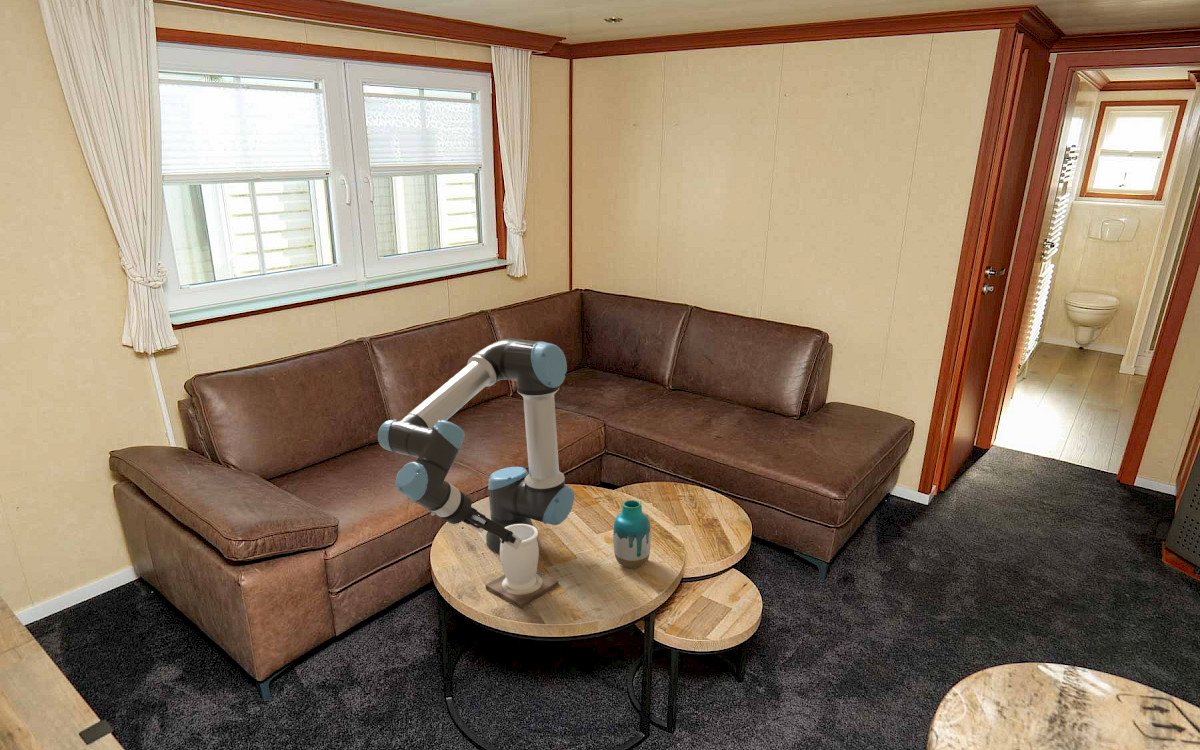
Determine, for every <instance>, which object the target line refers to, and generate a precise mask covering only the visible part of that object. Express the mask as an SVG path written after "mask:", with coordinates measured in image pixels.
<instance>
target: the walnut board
mask: <svg viewBox="0 0 1200 750" xmlns="http://www.w3.org/2000/svg"><path fill="white" fill-rule="evenodd" d="M535 577H536V583H535V584H534V585H533V586H532V587H530V588H528V589H525V590H513V589H511V588H509V587H507V585H506V583H505V581H506V576H505V574H504V573H503V574H502V575H501V576H499V577H498V578H496V579H494V580H492V581H490V582H489V583H487V584H485V590H487V591H489V592H490V593H492V594H495V595H496V596H497V597H500V598H502V599H504V600H505V601H507V602H509V603H511V604H513V606H516V607H518V608H519V609H523V608H524V607H526V606H528V605H529V604H531V603H532V602H534V601H536V600H537V599H539V598H540V597H542V596H543V595H545V594H547V593H549V592H550V591H551V590H553V589H555V588H556V587H558V586H559V585H560V584H559V580H557V579H555V578H553V577H552V576H549V575H548V574H545V573H544V572H541V571H539V570H537V571H536V574H535Z"/></svg>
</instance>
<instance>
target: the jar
mask: <svg viewBox="0 0 1200 750" xmlns="http://www.w3.org/2000/svg"><path fill="white" fill-rule="evenodd" d="M505 529H507V530H509V531H512V532H513V534H514V535H515V536H517V537H519V538H520V539H522V542H521V544H520V546H519V547H518V549H515V548H513V547H511V546H510V545H508V544H507V543H505V542H504V543H501V544H500V552H499V557H500V562H501V567H502V571H503V575H504V574H505V576H506V581H505V583H506V585H507V587H509V588H511V589H513V590H525V589H528V588H530V587H532V586H533V585H534V584H535V583H536V577H535V574H536V571H538V564H539V563H538V562H539V558H540V555H539V554H540V550H539V549H540V548H539V544H538V542H539V541H538V540H537V538H538V536H539V533H538V529H537V527H535V526H534V525H533V526H531V525H528V524H513V525H509V526H507V527H505ZM501 541H502V540H501Z"/></svg>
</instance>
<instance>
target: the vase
mask: <svg viewBox="0 0 1200 750" xmlns="http://www.w3.org/2000/svg"><path fill="white" fill-rule="evenodd" d="M651 530H652V529H651V522H650V518H649V517H648V515H647V514H646V513H644V512H643V508H642V502H641V501H639V500H636V499H627V500H624V501H623V502H622V506H621V512H620V513H618V514H617V515H616V517H615V518H614V524H613V530H612V532H613V537H612V539H613V551H614V552H613V553H614V557H615V560H616V562H617V563H618V564H619V565H620V566H621V567H624V568H627V569H639V568H641V567H643V566H644V565H646V563H647V562H648V560H649V557H650V554H651V547H652V546H651V543H652V541H651V540H652V539H651V538H652V537H651V536H652V534H651V533H652V532H651Z"/></svg>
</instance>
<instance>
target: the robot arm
mask: <svg viewBox="0 0 1200 750" xmlns="http://www.w3.org/2000/svg"><path fill="white" fill-rule="evenodd" d="M567 363H568V362H567V358H566V355H565V354H564V351H563V350H562V349H561V348H560V347H559V346H558V345H557V344H554V343H550V342H547V341H544V340H543V341H539V340H529V339H522V338H521V339H520V338H514V337H511V338H510V337H509V338H503V339H499V340H498V341H494V342H493V343H491V344H488V345H487V346H485V347H483V348H481V349H480V350H478V351H477V352H476V353H475V354H473V355H472V356H471V357H470V358H468V360H467V364H466V365H465V366H464V367H463V368H462V369H461V370H459V371H458V372H457V373H456V374H455V375H453V377H451V378H449V380H447V381H446V382H445V383H444V384H442V385H441V386H440V387H438V389H437V390H435V391H434V392H433V393H432V394H430V395H429V396H428V397H427V398H426V399H424V400H423V401H422V402H420V403H419V404H418V405H417V406H416V407H414V408H413V409H411V411H410V412H408V413H407V414H406V415H405V416H403V417H402V418H401V419H399V420H398V419H389V420H386V421H384V422H383V423H382V424H381V425H380V427H379V429H378V431H377V440H378V441H377V442H378V444H379V446H380V447H381V448H383V449H384V450H386V451H390V452H392V453H395V454H400V455H404V456H409V457H413V458H416V459H417V460H416V461H410V462H408V463H406V464H405V465H403V467H402V468H401V469H399V471H398V472H397V474H396V478H395V487H396V489H397V491H398V492H399V493H401V494H402V495H404V496H405V497H406V498H407V499H408V500H409V501H410V500H411V501H412V502H414V503H415V504H418V505H419V506H421V507H423V508H424V509H426V510H428V511H430V516H432V517H433V516H435V515H436V516H437V517H440V518H441V519H442V520H444V521H445V522H448V523H449V524H451V525H456V524H460V523H461V522H463V523H465V524H466V525H467V526H469V527H471V528H473V529H474V530H476V531H477V532H479V533H481V534H482V533H483V531H486V535H485V538H486V539H485V540H486V542H485V543H486V546H487V547H488V548H489V549H490V550H491V551H493V552H496V553H500V544H501V543H504V542H505V543H507V544H508V545H510V546H511V547H513V548H515V549H518V547H519V546H520V544H521V542H522V539H520V538H519V537H517V536H515V535H514V534H513V532H512V531H509V530H507V529H505V527H507V526H509V525H513V524H528V525H531V526H533V527H534V525H533V522H532V520H534V521H538V522H541V523H543V524H545V525H546V524H547V525H552V526H557V525H560V524H562V523H564V521H565V520H566V519H567V518H568V516H569V515H570V513H571V511H572V508H573V505H574V501H575V492H574V489H573V488H572V487H570V486H568V485H566V478H565V474H564V473H563V472H561V471H560V466H559V465H560V464H559V463H560V462H559V451H558V450H559V449H558V436H557V435H558V434H557V432H558V431H557V421H556V420H557V418H556V407H555V406H556V405H555V404H556V403H555V394H556V393H557V392H558V391H559V390H560V386H561V385H562V384H563V383H564V382H565V379H566V375H567V371H568V364H567ZM503 380H509V381H513V382H515V383H516V392H517V393H518V394H519V395H521V396H522V399H523V401H522V402H523V411H524V424H525V425H524V426H525V437H526V451H527V464H528V470H527V469H526V468H525V467H523V466H510V467H509V466H507V467H505V468H504V467H503V468H501V469H498V470H495V471H494V472H492V473H491V474H490V475H489V477H488V487H487V489H488V496H489V497H488V500H489V511H490V512H489V513H490V518H488V517H486V515H485V514H483V513H481V512H479V511H478V510H477V509H476V508H474V507H473V506H472V501H471V500H472V499H471V498H470V496H468V495H467V494H466V493H464V492H463V491H461V490H459V489H458V488H457V487H455V486H454V485H453V484H451V483H449V482H448V481H446V480H445V479H446V477H447V475H448V473H449V471H450V469H451V467H452V465H453V463H454V461H455V459H456V458H457V455H458V453H459V451H460V450H461V447H462V444H463V442H464V439H465V438H466V437H465V436H466V433H465V430H464V429H462V428H461V427H460V426H459V425H457V424H455V423H453V422H451V421H448V420H449V419H450V418H451V417H452V416H454V415H455V414H456V413H457V412H459V410H460V409H462V408H463V407H464V405H465V406H466V404H467V403H468V402H469V401H471V400H472V399H473V398H474V397H475V396H476V395H477V394H479V392H481V391H482V390H483V389H484V388H486V387H492V386H494V385H495V384H496V383H497V382H500V381H503ZM501 540H502V541H501Z"/></svg>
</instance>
